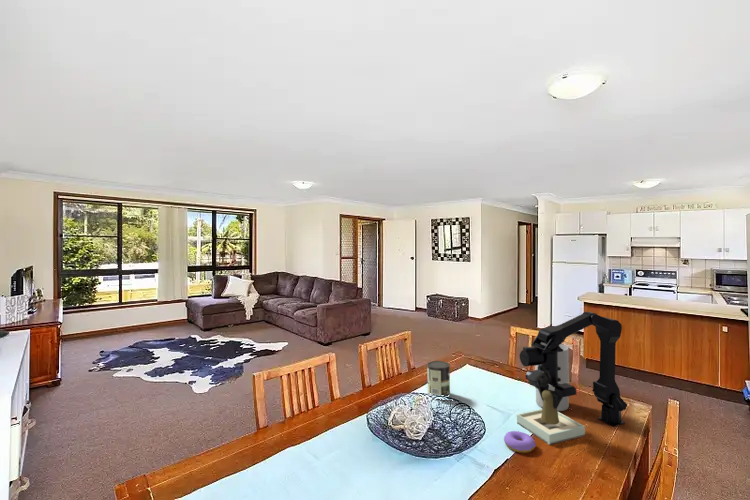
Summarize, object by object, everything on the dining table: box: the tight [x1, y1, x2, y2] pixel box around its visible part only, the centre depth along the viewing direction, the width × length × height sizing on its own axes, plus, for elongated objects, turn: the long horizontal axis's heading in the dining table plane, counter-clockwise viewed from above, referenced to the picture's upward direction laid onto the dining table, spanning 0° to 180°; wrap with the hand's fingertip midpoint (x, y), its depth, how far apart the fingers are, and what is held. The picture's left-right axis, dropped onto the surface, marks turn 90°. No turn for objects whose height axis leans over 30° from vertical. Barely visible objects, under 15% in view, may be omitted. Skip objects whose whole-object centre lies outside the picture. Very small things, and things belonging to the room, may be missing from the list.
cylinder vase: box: [535, 343, 570, 412], centre depth 155 cm, size 12×12×25 cm
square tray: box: [516, 408, 586, 446], centre depth 136 cm, size 16×16×4 cm
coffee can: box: [426, 360, 451, 396], centre depth 168 cm, size 10×10×14 cm
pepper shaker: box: [541, 390, 559, 424], centre depth 136 cm, size 6×6×11 cm
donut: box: [503, 430, 536, 454], centre depth 126 cm, size 10×9×5 cm
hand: (549, 405), depth 136 cm, fingers closed on pepper shaker, 5 cm apart
